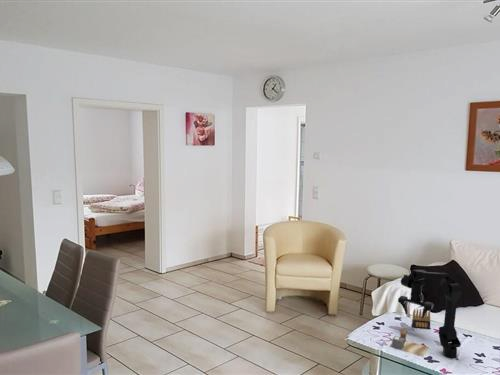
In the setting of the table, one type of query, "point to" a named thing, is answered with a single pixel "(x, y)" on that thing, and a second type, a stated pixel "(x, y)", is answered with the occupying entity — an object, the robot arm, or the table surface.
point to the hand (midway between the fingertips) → (414, 316)
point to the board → (414, 348)
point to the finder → (398, 342)
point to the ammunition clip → (421, 320)
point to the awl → (403, 334)
